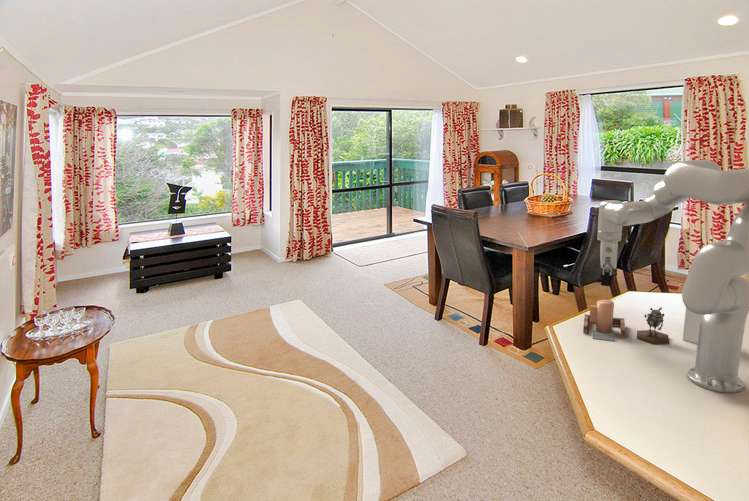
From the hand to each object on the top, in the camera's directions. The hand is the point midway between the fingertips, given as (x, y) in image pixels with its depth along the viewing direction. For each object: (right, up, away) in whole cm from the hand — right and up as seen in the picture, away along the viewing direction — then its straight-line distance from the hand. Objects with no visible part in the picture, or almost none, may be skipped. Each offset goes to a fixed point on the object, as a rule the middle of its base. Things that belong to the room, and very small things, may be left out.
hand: (605, 281), depth 155 cm
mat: (-2, -20, -2) cm, 20 cm away
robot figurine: (+14, -20, -5) cm, 25 cm away
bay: (+1, -18, +4) cm, 19 cm away
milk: (+27, -20, -8) cm, 34 cm away
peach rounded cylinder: (0, -18, +4) cm, 19 cm away
